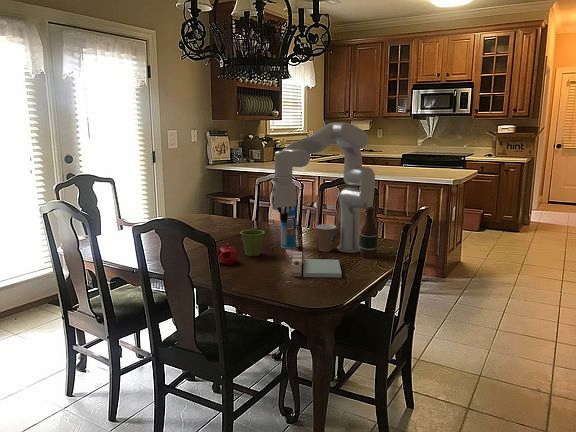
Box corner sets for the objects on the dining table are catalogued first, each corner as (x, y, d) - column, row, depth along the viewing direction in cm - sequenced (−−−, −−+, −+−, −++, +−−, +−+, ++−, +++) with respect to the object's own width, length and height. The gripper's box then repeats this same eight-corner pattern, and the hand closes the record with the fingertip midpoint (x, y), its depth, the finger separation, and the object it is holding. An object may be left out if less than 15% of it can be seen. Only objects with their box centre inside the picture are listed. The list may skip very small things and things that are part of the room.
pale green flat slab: (303, 262, 218) (303, 259, 217) (338, 263, 217) (338, 259, 217) (303, 276, 198) (303, 272, 198) (341, 277, 197) (341, 273, 197)
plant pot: (268, 252, 235) (267, 230, 233) (260, 258, 224) (260, 235, 222) (245, 250, 239) (245, 228, 236) (236, 256, 227) (236, 234, 225)
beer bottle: (368, 259, 223) (370, 209, 218) (356, 256, 229) (358, 207, 224) (379, 257, 227) (381, 207, 223) (368, 253, 233) (369, 205, 229)
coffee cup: (334, 252, 235) (335, 229, 232) (314, 251, 237) (314, 228, 234) (336, 247, 245) (337, 224, 242) (317, 246, 247) (317, 223, 244)
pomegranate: (227, 258, 225) (227, 239, 223) (243, 262, 219) (242, 242, 217) (212, 263, 217) (211, 243, 216) (227, 267, 211) (226, 247, 209)
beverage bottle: (277, 247, 244) (277, 209, 240) (285, 244, 251) (285, 207, 247) (292, 249, 240) (292, 211, 236) (299, 246, 247) (299, 208, 243)
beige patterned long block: (301, 276, 198) (301, 262, 197) (291, 276, 198) (291, 262, 197) (302, 262, 218) (302, 249, 216) (293, 262, 218) (293, 249, 217)
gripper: (271, 182, 195) (272, 225, 199) (303, 179, 202) (303, 221, 205) (263, 180, 201) (264, 222, 205) (294, 177, 208) (294, 218, 212)
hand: (283, 221), depth 205 cm, fingers closed
